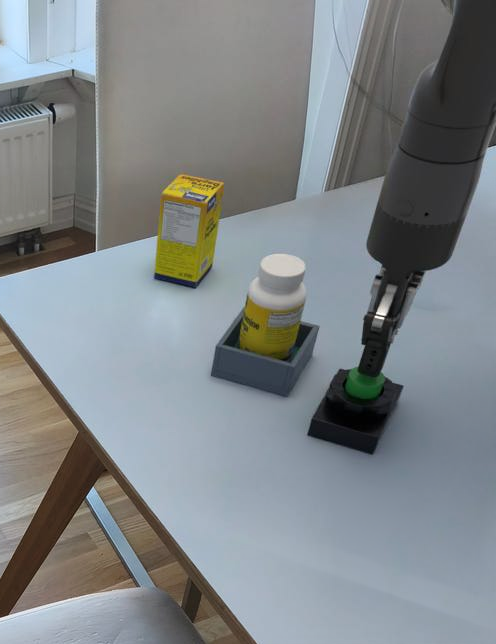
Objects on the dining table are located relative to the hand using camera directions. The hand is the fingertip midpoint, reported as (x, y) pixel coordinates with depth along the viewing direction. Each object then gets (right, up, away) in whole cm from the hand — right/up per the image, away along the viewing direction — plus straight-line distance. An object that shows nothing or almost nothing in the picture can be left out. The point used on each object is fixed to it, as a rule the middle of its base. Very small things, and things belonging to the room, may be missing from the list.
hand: (369, 371), depth 90 cm
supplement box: (-15, +20, +25) cm, 35 cm away
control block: (0, -4, +5) cm, 6 cm away
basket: (-8, +4, +11) cm, 14 cm away
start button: (0, -1, +2) cm, 2 cm away
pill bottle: (-8, +5, +11) cm, 14 cm away
